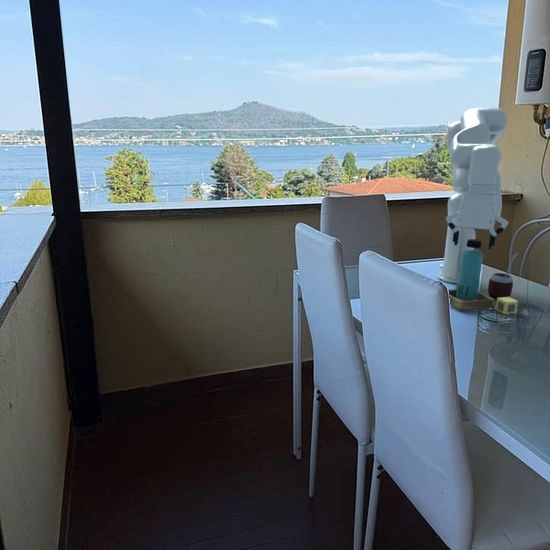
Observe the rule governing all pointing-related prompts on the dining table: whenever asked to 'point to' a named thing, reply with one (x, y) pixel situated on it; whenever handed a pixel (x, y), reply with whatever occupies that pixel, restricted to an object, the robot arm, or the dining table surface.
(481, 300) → the tray
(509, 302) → the pale yellow cube
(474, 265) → the beverage bottle
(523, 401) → the dining table surface
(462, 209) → the robot arm
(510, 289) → the mate gourd
